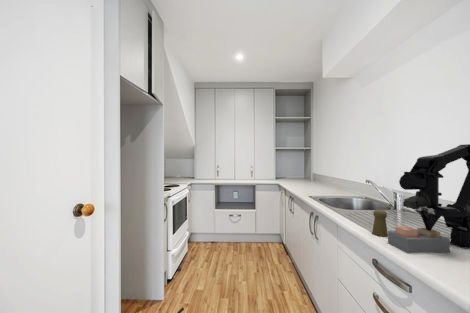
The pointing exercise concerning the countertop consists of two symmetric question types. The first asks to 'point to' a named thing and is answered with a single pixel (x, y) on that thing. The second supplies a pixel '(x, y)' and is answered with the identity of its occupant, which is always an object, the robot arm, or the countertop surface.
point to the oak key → (428, 232)
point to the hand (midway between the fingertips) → (428, 229)
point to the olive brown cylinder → (380, 223)
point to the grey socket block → (419, 243)
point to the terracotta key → (406, 231)
